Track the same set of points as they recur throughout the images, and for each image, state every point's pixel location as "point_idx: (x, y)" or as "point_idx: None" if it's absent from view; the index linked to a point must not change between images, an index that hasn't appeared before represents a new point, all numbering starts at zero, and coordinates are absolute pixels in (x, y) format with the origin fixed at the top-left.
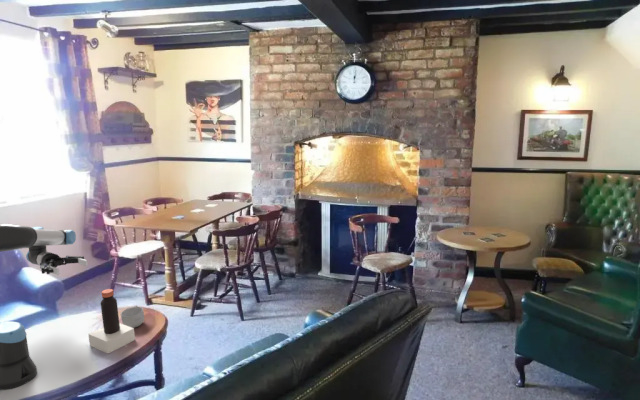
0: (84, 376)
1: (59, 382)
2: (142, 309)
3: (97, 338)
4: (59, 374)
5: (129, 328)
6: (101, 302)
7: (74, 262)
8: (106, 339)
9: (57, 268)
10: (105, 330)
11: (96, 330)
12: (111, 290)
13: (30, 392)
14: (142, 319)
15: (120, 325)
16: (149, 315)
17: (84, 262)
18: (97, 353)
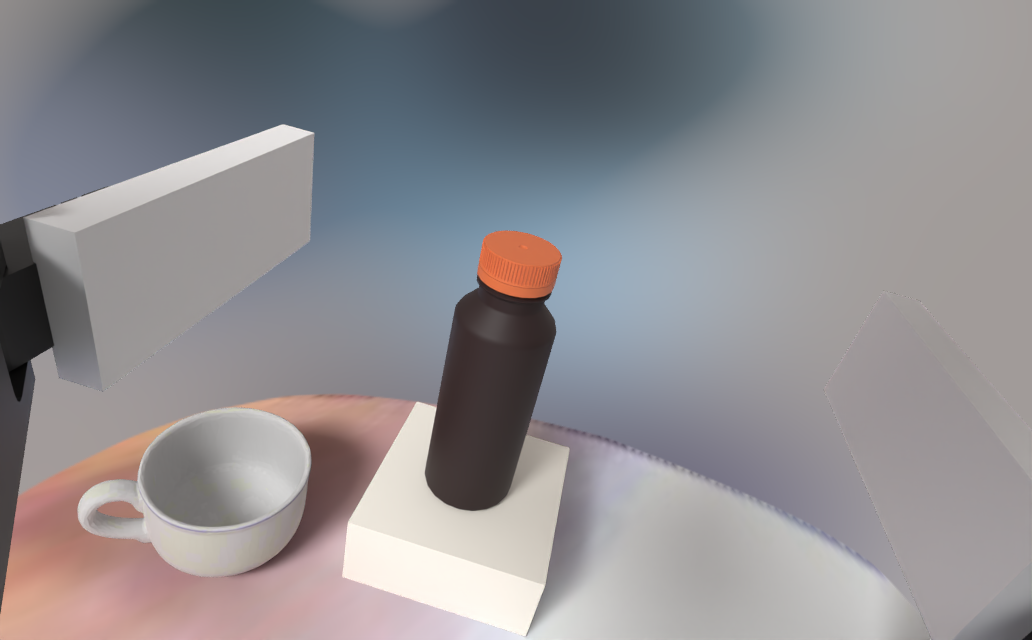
0: (710, 486)
1: (793, 548)
2: (197, 420)
3: (558, 509)
4: (771, 590)
5: (423, 416)
6: (550, 330)
7: (12, 482)
8: (554, 457)
9: (900, 308)
10: (514, 472)
11: (490, 565)
12: (506, 234)
13: (905, 611)
14: (244, 449)
15: (398, 470)
16: (68, 512)
17: (287, 195)
18: (570, 541)
